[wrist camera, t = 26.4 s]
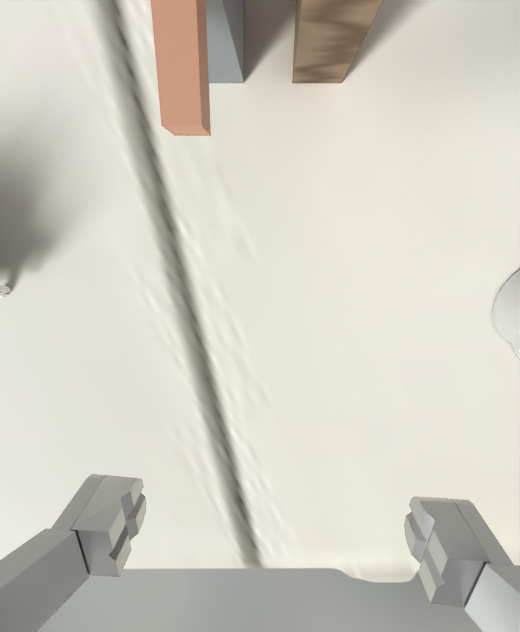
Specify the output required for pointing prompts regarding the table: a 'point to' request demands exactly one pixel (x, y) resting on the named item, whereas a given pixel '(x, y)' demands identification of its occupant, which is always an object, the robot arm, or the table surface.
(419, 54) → the table surface
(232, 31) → the blue-grey block
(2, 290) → the figurine
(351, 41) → the pillar
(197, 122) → the bar
